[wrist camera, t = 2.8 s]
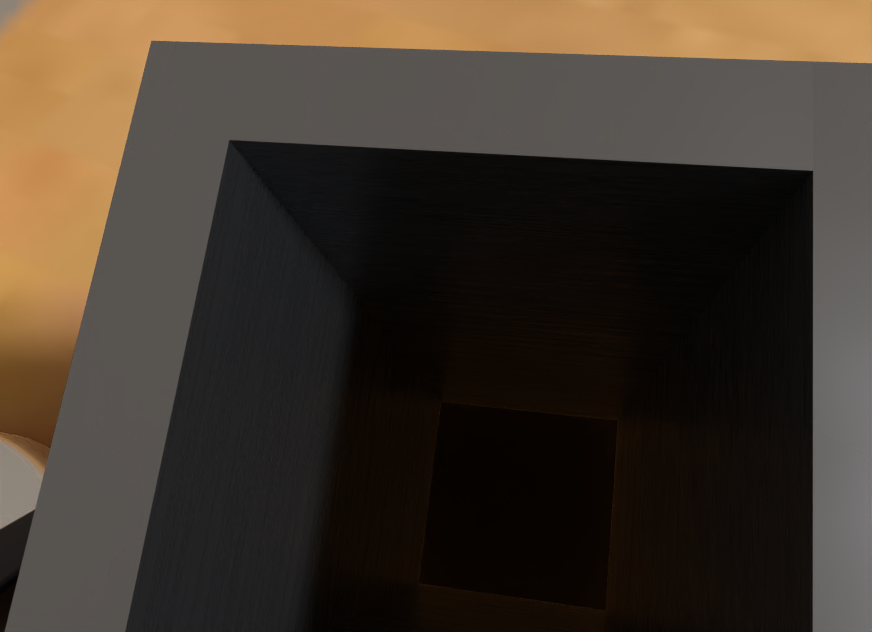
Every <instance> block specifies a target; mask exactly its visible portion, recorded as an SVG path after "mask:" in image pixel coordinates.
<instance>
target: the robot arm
mask: <svg viewBox="0 0 872 632" xmlns="http://www.w3.org/2000/svg"><path fill="white" fill-rule="evenodd" d="M34 512H35V509H34V510H33V511H31V512H29V513H27V514H26V515H24V516H22V517H20V518H19V519H17V520H15V521H13V522H12V523H10V524H8V525H6V526H5V527H3V528H1V529H0V632H5V628H6V624H7V620H8V616H9V612H10V608H11V604H12V600H13V596H14V592H15V588H16V584H17V580H18V576H19V572H20V568H21V564H22V560H23V556H24V552H25V548H26V544H27V540H28V536H29V532H30V528H31V524H32V520H33V516H34Z"/></svg>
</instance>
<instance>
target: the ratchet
mask: <svg viewBox="0 0 872 632" xmlns="http://www.w3.org/2000/svg"><path fill="white" fill-rule="evenodd" d="M49 451H50V448H49V447H47V446H45V445H43V444H42V443H40V442H37V441H34V440H31V439H29V438H26V437H23V436H19V435H14V434H9V433H4V432H0V529H1V528H3V527H5V526H6V525H8V524H10V523H12V522H13V521H15V520H17V519H19V518H20V517H22V516H24V515H26V514H27V513H29V512H31V511H33V510H34V509H35V507H36V503H37V499H38V495H39V491H40V487H41V483H42V479H43V475H44V471H45V467H46V463H47V459H48V455H49Z"/></svg>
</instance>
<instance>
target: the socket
mask: <svg viewBox="0 0 872 632" xmlns="http://www.w3.org/2000/svg"><path fill="white" fill-rule="evenodd" d="M441 402H447V403H456V404H466V405H475V406H485V407H494V408H504V409H513V410H522V411H532V412H541V413H551V414H560V415H570V416H579V417H588V418H598V419H607V420H617V421H618V426H617V441H616V457H615V472H614V488H613V503H612V518H611V534H610V549H609V565H608V580H607V596H606V610H600V609H593V608H586V607H580V606H573V605H566V604H559V603H552V602H545V601H538V600H531V599H524V598H518V597H511V596H504V595H497V594H490V593H483V592H476V591H469V590H462V589H456V588H449V587H442V586H435V585H428V584H421V583H419V578H420V569H421V561H422V553H423V545H424V537H425V529H426V521H427V513H428V505H429V497H430V488H431V480H432V472H433V464H434V456H435V448H436V440H437V432H438V424H439V416H440V407H441ZM5 632H872V64H870V63H839V62H807V61H775V60H743V59H711V58H680V57H648V56H616V55H584V54H552V53H521V52H489V51H457V50H425V49H393V48H361V47H330V46H298V45H266V44H234V43H202V42H171V41H151V45H150V49H149V53H148V57H147V61H146V65H145V69H144V73H143V77H142V81H141V85H140V89H139V93H138V97H137V101H136V105H135V109H134V113H133V117H132V121H131V125H130V129H129V133H128V137H127V141H126V145H125V149H124V154H123V158H122V162H121V166H120V170H119V174H118V178H117V182H116V186H115V190H114V194H113V198H112V202H111V206H110V210H109V214H108V218H107V222H106V226H105V230H104V234H103V238H102V242H101V246H100V250H99V254H98V258H97V262H96V266H95V270H94V274H93V278H92V282H91V286H90V290H89V294H88V298H87V302H86V306H85V310H84V314H83V318H82V322H81V326H80V330H79V335H78V339H77V343H76V347H75V351H74V355H73V359H72V363H71V367H70V371H69V375H68V379H67V383H66V387H65V391H64V395H63V399H62V403H61V407H60V411H59V415H58V419H57V423H56V427H55V431H54V435H53V439H52V443H51V447H50V451H49V455H48V459H47V463H46V467H45V471H44V475H43V479H42V483H41V487H40V491H39V495H38V499H37V503H36V507H35V512H34V516H33V520H32V524H31V528H30V532H29V536H28V540H27V544H26V548H25V552H24V556H23V560H22V564H21V568H20V572H19V576H18V580H17V584H16V588H15V592H14V596H13V600H12V604H11V608H10V612H9V616H8V620H7V624H6V628H5Z"/></svg>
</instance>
